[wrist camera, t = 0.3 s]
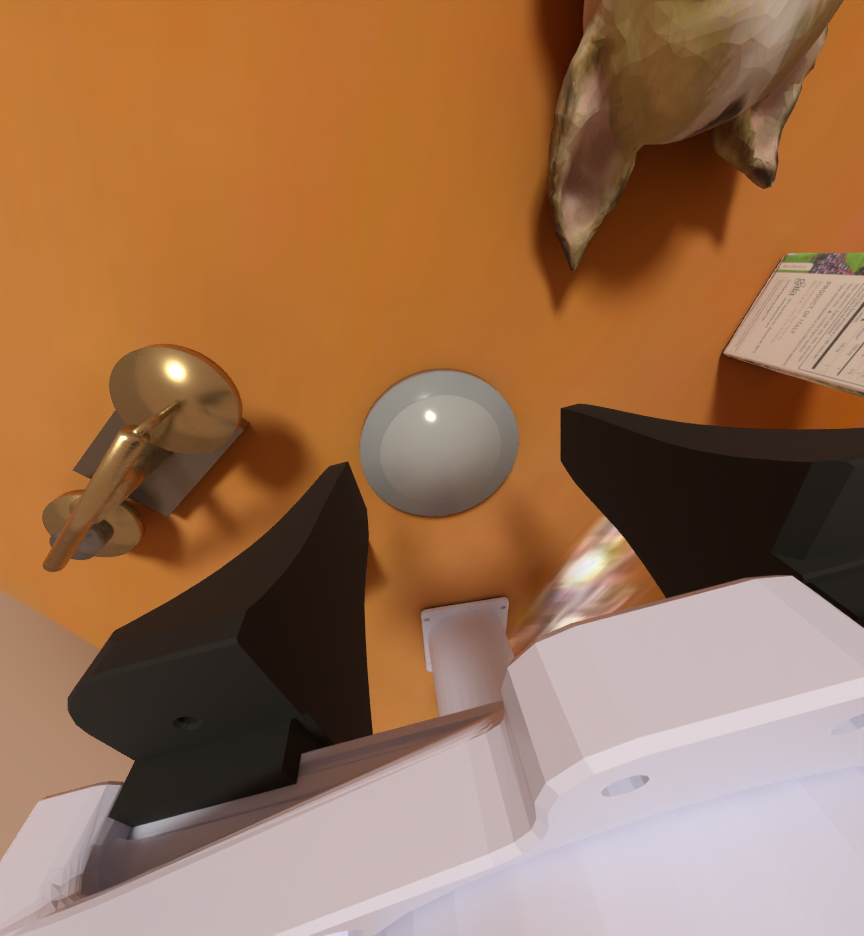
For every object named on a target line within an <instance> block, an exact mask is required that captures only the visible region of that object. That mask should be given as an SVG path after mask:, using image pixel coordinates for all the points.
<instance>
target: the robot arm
mask: <svg viewBox="0 0 864 936" xmlns="http://www.w3.org/2000/svg"><path fill="white" fill-rule="evenodd" d="M561 462H562V464H563V465H564V467H565V468H566V470H567V472H568V473H569V475H570V476H571V478H572V479H573V480H574V482H575V483H576V484H577V485H578V487H579V488H580V489H581V490H582V491H583V492H584V493H585V494H586V496H587V497H588V498H589V499H590V500H591V501H592V502H593V503H594V504H595V505H596V507H597V508H598V509H599V510H600V511H601V512H602V513H603V514H604V515H605V516H606V517H607V519H608V520H609V521H610V522H611V523H612V524H613V525H614V526H615V527H616V528H617V530H618V531H619V532H620V533H621V534H622V536H623V537H624V538H625V539H626V541H627V542H628V543H629V545H630V546H631V547H632V549H633V550H634V552H635V553H636V554H637V556H638V557H639V558H640V560H641V561H642V563H643V564H644V565H645V567H646V568H647V570H648V571H649V573H650V574H651V576H652V577H653V579H654V580H655V582H656V583H657V585H658V586H659V588H660V589H661V591H662V592H663V594H664V595H665V597H666V598H667V599H663V600H659V601H655V602H651V603H647V604H644V605H640V606H636V607H632V608H628V609H625V610H621V611H617V612H613V613H609V614H605V615H602V616H598V617H594V618H590V619H586V620H583V621H579V622H575V623H571V624H569V625H567V626H564V627H562V628H560V629H557V630H555V631H552V632H550V633H548V634H545V635H543V636H541V637H538V638H536V639H535V640H534V641H533V642H531V643H530V644H529V645H528V646H527V647H526V648H525V649H524V650H522V651H521V652H520V653H519V654H518V655H517V656H516V657H514V654H513V652H512V649H511V646H510V643H509V640H508V638H507V635H506V626H507V617H508V607H509V601H508V599H507V598H506V597H500V598H494V599H488V600H481V601H475V602H469V603H462V604H456V605H450V606H444V607H437V608H431V609H425V610H423V611H422V612H421V621H422V630H423V640H424V650H425V659H426V668H427V671H430V672H433V679H434V686H435V693H436V700H437V707H438V714H439V717H438V718H434V719H430V720H426V721H422V722H419V723H415V724H411V725H407V726H404V727H400V728H396V729H392V730H389V731H385V732H381V733H377V734H374V735H373V731H372V720H371V710H370V697H369V684H368V671H367V654H366V637H365V611H364V599H365V581H366V568H367V554H368V539H369V531H368V517H367V509H366V506H365V504H364V501H363V498H362V496H361V493H360V491H359V488H358V486H357V483H356V481H355V478H354V475H353V473H352V470H351V468H350V465H349V463H348V462H344V463H340V464H336V465H332V466H329V467H328V468H327V469H326V470H325V471H324V472H323V473H322V475H321V476H320V477H319V478H318V479H317V480H316V481H315V483H314V484H313V485H312V486H311V487H310V488H309V490H308V491H307V492H306V493H305V494H304V495H303V496H302V498H301V499H300V500H299V501H298V502H297V503H296V504H295V505H294V506H293V507H292V508H291V509H290V510H289V511H288V512H287V513H286V514H285V515H284V516H283V517H282V519H281V520H280V521H279V522H277V523H276V524H275V525H274V526H273V527H272V528H271V529H270V530H269V531H268V532H267V533H265V534H264V535H263V536H262V537H261V538H260V539H258V540H257V541H256V542H255V543H254V544H253V545H251V546H250V547H249V548H247V549H246V550H245V551H243V552H242V553H241V554H239V555H238V556H237V557H235V558H234V559H233V560H231V561H230V562H229V563H227V564H226V565H225V566H223V567H222V568H221V569H219V570H218V571H216V572H215V573H213V574H212V575H210V576H209V577H207V578H206V579H204V580H203V581H201V582H200V583H198V584H196V585H195V586H193V587H191V588H190V589H188V590H187V591H185V592H183V593H182V594H180V595H178V596H177V597H175V598H173V599H172V600H170V601H168V602H167V603H165V604H163V605H161V606H159V607H157V608H156V609H154V610H152V611H150V612H148V613H147V614H145V615H143V616H141V617H139V618H137V619H136V620H134V621H132V622H130V623H128V624H127V625H125V626H123V627H121V628H119V629H117V630H115V631H114V632H113V633H112V635H111V636H110V638H109V639H108V641H107V642H106V643H105V645H104V646H103V648H102V649H101V651H100V652H99V654H98V655H97V656H96V658H95V659H94V661H93V662H92V664H91V665H90V667H89V668H88V669H87V671H86V672H85V674H84V675H83V677H82V678H81V679H80V681H79V682H78V684H77V685H76V686H75V688H74V689H73V691H72V692H71V694H70V695H69V697H68V711H69V714H70V715H71V717H72V719H73V720H74V722H75V724H76V725H77V726H79V727H80V728H81V729H82V730H84V731H85V732H86V733H88V734H89V735H91V736H93V737H95V738H96V739H98V740H100V741H101V742H103V743H105V744H107V745H109V746H110V747H112V748H114V749H115V750H117V751H119V752H121V753H122V754H124V755H126V756H128V757H129V758H131V759H133V760H135V762H134V764H133V766H132V768H131V770H130V772H129V774H128V776H127V778H126V780H125V783H124V782H115V781H108V782H101V783H96V784H92V785H89V786H85V787H81V788H77V789H74V790H70V791H66V792H62V793H58V794H55V795H51V796H47V797H45V798H43V799H42V800H40V801H39V802H38V803H37V805H36V806H35V808H34V809H33V811H32V812H31V814H30V816H29V817H28V819H27V821H26V822H25V823H24V825H23V827H22V828H21V830H20V832H19V833H18V835H17V836H16V838H15V839H14V841H13V843H12V844H11V846H10V847H9V849H8V851H7V852H6V854H5V855H4V857H3V858H2V860H1V862H0V936H864V428H851V429H813V430H777V429H750V428H732V427H719V426H709V425H699V424H691V423H683V422H676V421H670V420H664V419H658V418H653V417H648V416H642V415H637V414H633V413H628V412H623V411H618V410H614V409H609V408H604V407H599V406H593V405H587V404H576V405H572V406H568V407H564V408H561Z"/></svg>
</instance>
